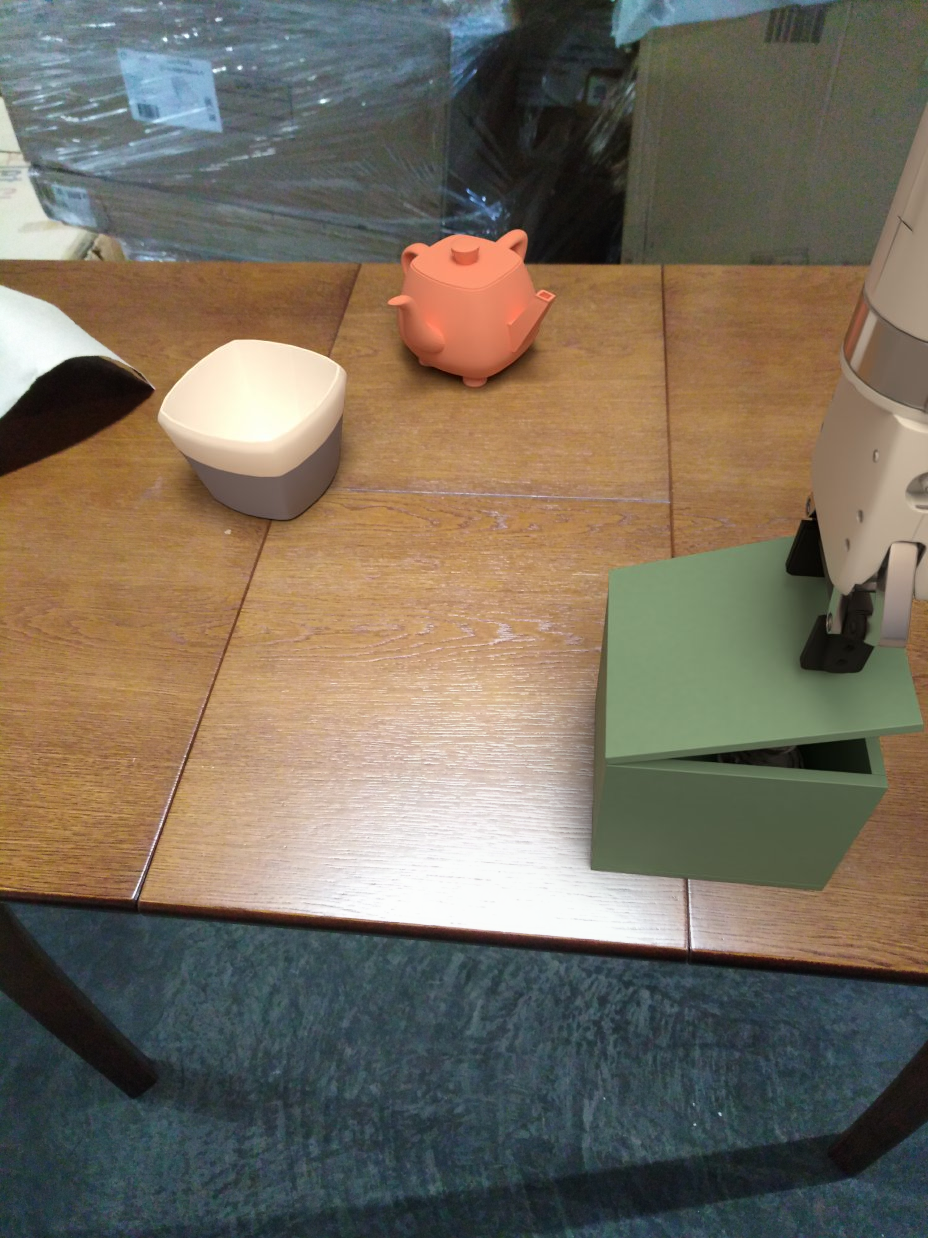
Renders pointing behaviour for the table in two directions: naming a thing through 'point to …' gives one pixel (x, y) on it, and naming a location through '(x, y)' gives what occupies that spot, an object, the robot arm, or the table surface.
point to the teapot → (469, 304)
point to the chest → (732, 811)
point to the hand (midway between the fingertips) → (820, 616)
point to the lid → (736, 660)
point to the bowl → (260, 425)
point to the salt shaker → (765, 757)
